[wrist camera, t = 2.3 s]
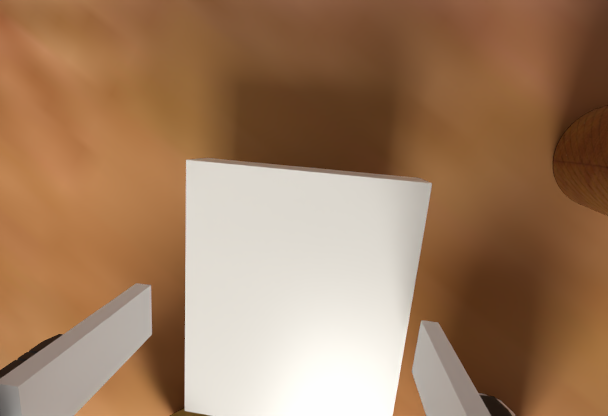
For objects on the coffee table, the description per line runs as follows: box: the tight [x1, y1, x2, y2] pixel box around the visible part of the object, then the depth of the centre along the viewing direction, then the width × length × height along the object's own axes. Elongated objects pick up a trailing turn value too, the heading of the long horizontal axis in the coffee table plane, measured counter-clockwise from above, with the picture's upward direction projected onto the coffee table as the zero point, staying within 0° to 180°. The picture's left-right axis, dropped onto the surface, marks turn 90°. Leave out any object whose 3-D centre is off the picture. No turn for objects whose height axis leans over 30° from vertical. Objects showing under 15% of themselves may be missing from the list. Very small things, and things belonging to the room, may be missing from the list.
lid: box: [185, 158, 432, 416], centre depth 18 cm, size 12×15×2 cm
